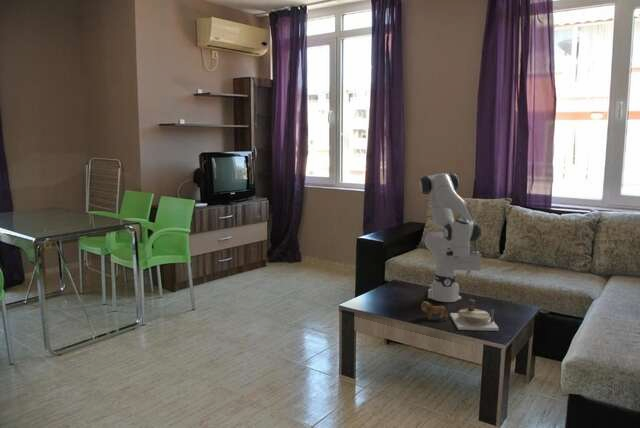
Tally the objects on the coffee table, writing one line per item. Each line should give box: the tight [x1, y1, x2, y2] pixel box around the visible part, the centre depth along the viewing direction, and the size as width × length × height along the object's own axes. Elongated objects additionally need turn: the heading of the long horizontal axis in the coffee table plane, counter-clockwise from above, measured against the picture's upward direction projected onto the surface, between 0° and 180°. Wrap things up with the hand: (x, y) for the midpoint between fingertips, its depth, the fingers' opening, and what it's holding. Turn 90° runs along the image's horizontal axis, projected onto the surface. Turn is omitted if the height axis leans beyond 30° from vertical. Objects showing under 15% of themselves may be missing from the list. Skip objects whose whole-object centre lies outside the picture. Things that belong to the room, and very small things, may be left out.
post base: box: [449, 309, 500, 332], centre depth 254 cm, size 19×19×8 cm
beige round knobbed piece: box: [457, 299, 491, 322], centre depth 255 cm, size 17×15×6 cm
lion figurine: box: [421, 301, 451, 321], centre depth 259 cm, size 15×5×9 cm, turn 90°
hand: (459, 278), depth 257 cm, fingers open, 5 cm apart
